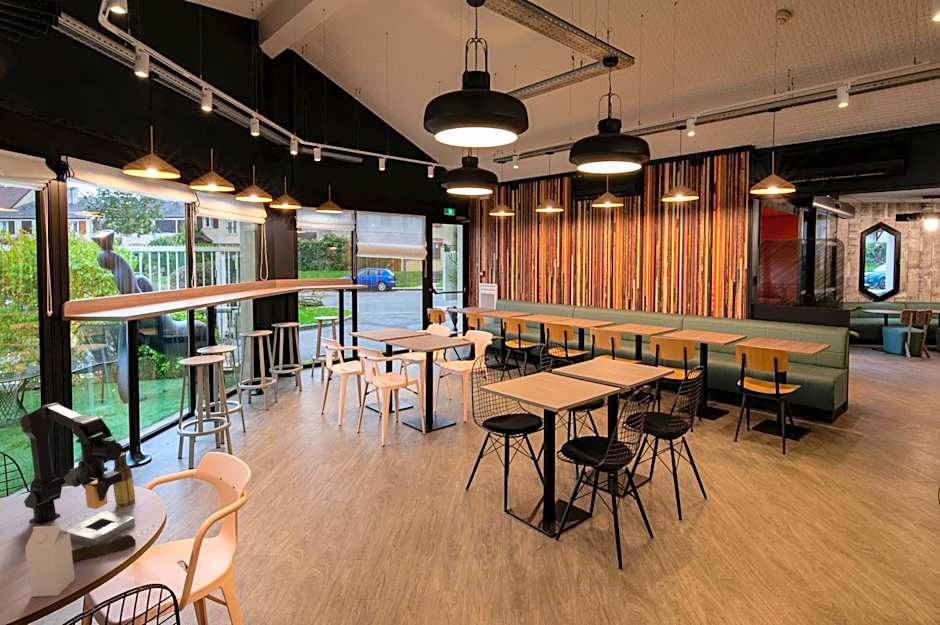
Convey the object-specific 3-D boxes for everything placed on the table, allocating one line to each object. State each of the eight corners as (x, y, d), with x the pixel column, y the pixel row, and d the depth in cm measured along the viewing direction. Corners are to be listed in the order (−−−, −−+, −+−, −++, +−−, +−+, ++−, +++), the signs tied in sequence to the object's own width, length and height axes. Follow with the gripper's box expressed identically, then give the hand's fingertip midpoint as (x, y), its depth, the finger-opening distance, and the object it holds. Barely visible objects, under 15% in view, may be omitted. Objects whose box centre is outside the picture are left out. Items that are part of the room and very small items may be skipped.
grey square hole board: (64, 539, 172) (63, 531, 172) (105, 518, 186) (104, 510, 185) (95, 547, 168) (94, 539, 168) (134, 525, 181) (134, 517, 181)
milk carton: (49, 580, 152) (42, 520, 149) (75, 579, 153) (68, 519, 150) (31, 597, 145) (23, 534, 142) (58, 596, 146) (51, 533, 143)
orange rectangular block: (87, 507, 174) (84, 484, 173) (98, 501, 178) (96, 479, 177) (95, 509, 173) (93, 486, 172) (107, 503, 177) (105, 481, 175)
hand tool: (61, 567, 158) (60, 553, 158) (64, 560, 162) (62, 546, 161) (134, 551, 167) (133, 537, 166) (136, 544, 171) (135, 531, 170)
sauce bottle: (131, 498, 200) (127, 449, 198) (138, 502, 197) (134, 453, 194) (112, 504, 195) (107, 454, 192) (119, 510, 191) (114, 458, 189)
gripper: (47, 461, 168) (52, 506, 170) (88, 469, 162) (93, 516, 165) (81, 448, 179) (86, 491, 181) (122, 455, 173) (126, 499, 175)
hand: (97, 499), depth 175 cm, fingers closed on orange rectangular block, 4 cm apart
